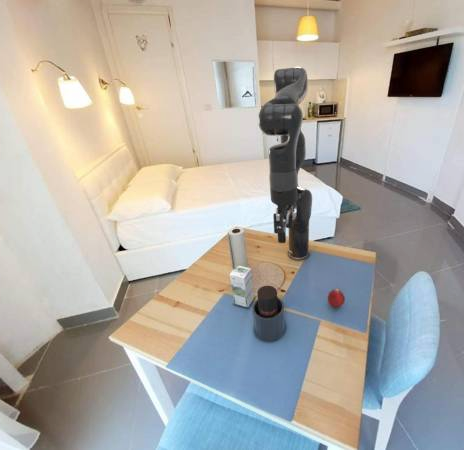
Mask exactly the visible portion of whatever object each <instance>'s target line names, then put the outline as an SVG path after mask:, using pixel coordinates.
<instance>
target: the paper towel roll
mask: <svg viewBox="0 0 464 450" xmlns="http://www.w3.org/2000/svg"><path fill="white" fill-rule="evenodd" d="M245 235H246V234H245V229H244V228H243V227H239V226H238V227H237V226H236V227H232V228H230V229H229V230H228V232H227V242H228V250H229V256H230V263H231V269H232V270H231V271H233V269H234V268H235V267H236V266H237V265H238V266H242V267H247V268H249V261H248V254H247V245H246V238H245Z"/></svg>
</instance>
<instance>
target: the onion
mask: <svg viewBox="0 0 464 450" xmlns="http://www.w3.org/2000/svg"><path fill="white" fill-rule="evenodd" d="M345 299H346V298H345V295H344V293H343V292H342V291H341V290H340V289H339V288H336V289H333V290H331V291H330V292H329V293H328V295H327V302H328V304H329V305H330V306H331V307H333V308H340V307H342V306H343V305H344V304H345Z"/></svg>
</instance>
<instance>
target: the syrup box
mask: <svg viewBox="0 0 464 450" xmlns="http://www.w3.org/2000/svg"><path fill="white" fill-rule="evenodd" d="M252 274H253V273H252V268H251V267H248V268H247V267H242V266H238V265H237V266H236V267H235V268H234V269H233V270H231V272H230V273H229V279H230V285H231V292H232V296H233V303H234V305H237V306H240V307H243V308H249V307H250V305H251V304H252V302H253V300H254V299H255V293H254V284H253V275H252Z"/></svg>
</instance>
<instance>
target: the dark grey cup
mask: <svg viewBox="0 0 464 450" xmlns="http://www.w3.org/2000/svg"><path fill="white" fill-rule="evenodd" d="M277 304H278V315H276V316H274V317H272V318H264V317H260V316H259V306H258V298H257V299H256V300H254V302H253V304H252V306H251V307H252V318H253V327H254V332H255V335H256V337H258V339H259V340H262V341H264V342H273V341H276V340H278V339H280V338H282V336H283V334H284V332H285V329H286V328H285V327H286V322H285V304H284V301H283V300H282V299H281V298H280V297H279V296H277Z"/></svg>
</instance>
